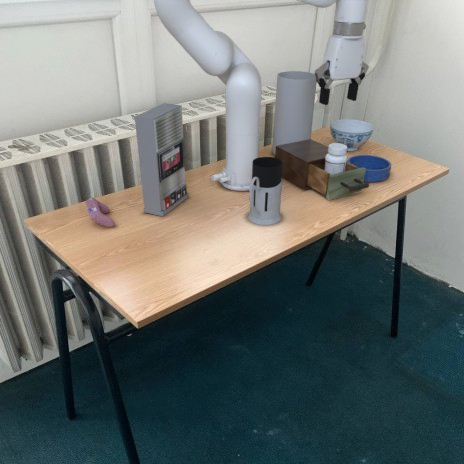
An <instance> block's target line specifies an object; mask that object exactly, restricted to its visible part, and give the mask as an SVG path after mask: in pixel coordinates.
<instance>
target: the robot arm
mask: <svg viewBox="0 0 464 464" xmlns="http://www.w3.org/2000/svg"><path fill="white" fill-rule="evenodd" d="M296 1H297V2H300V3H304V4H307V5H310V6H313V7H317V8H320V9H324V8H325V9H326V8H329V7H331V6H333V5H334V4H335V9H334V17H333V24H332V25H333V26H332V34H331V35H329V36H328V39H327V42H326V44H325V50H324V54H323V59H322V64H321V65H320V66H318V68H316V69H314V74H315V76H316V81H317V84H318V87H319V88H320V90H319V91H320V92H319V96H318V97H319V99H318V102H319V104H321V105H324V106H328V105H329V102H330V96H331V89H330V86H331V85H332V84H333V82H334V81H345V80H349V81H350V82H349V83H348V89H347V93H346V99H347V100H350V101H352V102H356V101H357V97H358V93H359V92H358V91H359V86H360V85H362V82H363V80H364V78H366V74H367V72H368V70H369V67H370V66H369V65H368V64H367V63H366V62H365V61H363V59H364V58H363V57H364V47H365V46H364V41H365V39H364V38H365V37H364V30H366V27H367V25H366V23H365V22H366V16H367V10H368V4H369V0H296ZM153 3H154V7H155V8H154V9H155V12H156V14H157V16H158V19H159V20H160V22H161V24H162V25H163V27H164V28H165V29H166V31H167V32H168V33H169V35H171V36H172V38H174V40H175V41H176V42H177V43H178V44H179V45H180V46H181V47H182V48H183V50H184V51H185V52H186V53H187V54H188V55H189V57H191V59H192V60H193V61H195V63H196V64H197V65H198V66H199V67H200V68H201V70H202V71H203V72H204V73H206V74H207V75H210V76H213V77H217V78H218V79H219V80H220V81H221V82H222V83H223V84H224V85H225V90H224V91H225V93H224V94H225V95H224V100H225V167H223V168H222V171H221V172H220V173H215V174H212V175H211V176H210V179H211V181H212V182H217V181H219V183H220V184H221V186H222V187H224V188H226V189H228V190H231V191H237V192H247V191H249V190H250V184H251V179H252V163H253V160H254V159H256V158H259V150H260V149H259V147H260V125H261V124H260V123H261V122H260V121H261V104H262V91H263V90H262V89H263V88H262V79H261V78H262V77H261V74H260V71H259V70H258V67H257V66H256V65H255V64H254V63H253V61H252V60H251V59H250V58H249V57H248V56H247V55H246V54H245V53H244V51H243V50H242V49H241V48H240V47H239V46H238V44H236V42H235V41H234V40H233V39H232V38H231V37H230V36H229V35H227V34H226V33H225V32H223V31H220V30H215V29H214V28H213V27H212V26H211V25H210V24H209V23H208V22H207V20H206V19H205V18H204V16H202V14H201V13H199V12H198V11H197V10H196V9H195V7H194V6H193V5H192V3H191V0H153Z"/></svg>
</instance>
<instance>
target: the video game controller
mask: <svg viewBox="0 0 464 464" xmlns="http://www.w3.org/2000/svg"><path fill="white" fill-rule="evenodd" d="M84 203H85V205H86V206H85V209H86V210H87V213H88V214H89V216H90V218H91V219H92V220H93V221H94V222H95V224H98V225H101V226H103V227H106V228H112V227H114V226H115V221H114V219H112V218H111V217H109V216H108V215H105V214H108V213H109V212H110V208H109V207H108V205H107V204H105V203H103V202H100V201H99V200H97V199H96V198H94V197H91V198H87V200H85V202H84Z"/></svg>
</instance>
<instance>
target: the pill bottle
mask: <svg viewBox="0 0 464 464" xmlns="http://www.w3.org/2000/svg"><path fill="white" fill-rule="evenodd" d="M327 147H328V154H327V155H326V157H325V164H324V171H326V172H328V173H330V175H333V174H337V173H341V172H345V170H346V164H347V160H348V156H347V155H346V154H347V152H348V151H347V146H346V145H344V144H341V143H336V142H333V143H330V144H329V145H328V146H327Z"/></svg>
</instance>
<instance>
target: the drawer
mask: <svg viewBox="0 0 464 464" xmlns="http://www.w3.org/2000/svg"><path fill="white" fill-rule="evenodd" d="M324 164H325V161H320V162H316V163H312V164H309V168H308V178H307V185H308V186H309V187H311V188H312V189H313V190H315V191H317V192H319V193H320V194H321V195H323V196H326V197H325V198H326V199H325V200H328V201H330V200H334V199H338V198H342V197H345V196H349V195H353V194H357V193H360V192H362V191H363V190H364V189H368V188H369V187H370V182H364V176H365V171H366V168H364V167H362V168H358V167H357V166H355V165H353V164H351V163H349V162H347V164H346V170H345V172H341V173H337V174H333V175H330V173H328V172H326V171H324ZM357 168H358V169H357Z"/></svg>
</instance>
